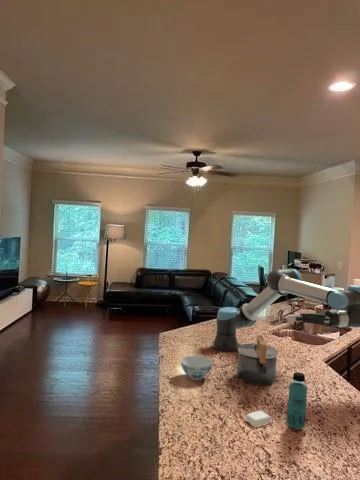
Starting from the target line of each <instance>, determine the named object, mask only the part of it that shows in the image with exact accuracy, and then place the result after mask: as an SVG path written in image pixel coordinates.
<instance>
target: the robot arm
mask: <svg viewBox="0 0 360 480" xmlns="http://www.w3.org/2000/svg"><path fill="white" fill-rule="evenodd" d="M266 284H267V287H266V288H264V289H263V290H262V291H261V292H260V293H258V295H257V296H255V297H254V298H253V299H252V300H251V301H250V302H248V303H243V304H242V305H241V306H240V307H239V308H236V307H233V306H225V307H221V308H219V309H218V310H217V315H216V334H215V338H214V340H213V342H212V348H213V349H214V350H218V351H222V352H235V351H238V346H239V342H238V339H237V329H238V330H239V329H244V328H250V327H253V326H254V325H255V324H256V323H257V321H258V320H257V319H258V318H259V314H261V313H262V312H263V311H265V309H266V308H268V307H269V306H270V305H271V304H273V303H275V301H276V300H278V299H279V298H280V297H282V296H283V297H285V296H287V295H288V294H291V295H294V296H295V295H296V296H299V297H301V298H305V299H309V300H311V301H316V302H318V303H320V304H321V303H322V304H325V305H328V306H329V307H331V308H332V309H334V310H330V309H329V310H326V311H325V312H324V313H321V312H320V313H319V312H318V313H316V312H311V313H308V312H307V313H299V314H287V321H288V322H297V323H306V324H319V325H325V326H327V327H329V328H336V327H337V328H340V329H342V328H360V285H359V284H358V285H355V284H350V285H349V284H348V286H347V290H337V289H334V288H330V287H326V286H322V285H319V284H314V283H312V282H307V281H304V280H303V278H302V274H301V273H300V272H299V270H297V269H295V268H282V269H277V268H276V269H273V270H271V271H270V272H269V273H268V274H267V276H266ZM343 309H346V310H343Z"/></svg>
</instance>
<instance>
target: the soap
mask: <svg viewBox="0 0 360 480" xmlns="http://www.w3.org/2000/svg"><path fill="white" fill-rule="evenodd" d="M244 419H245V420H246V421H248V422H249V423H250V424H252V425H254V426H259V425H263V424H266V423H270V422H272V423H273V420H272V418H271V416H270V415H269V414H267V413H266V412H264V411H262V410H258V411H253V412H249V413H247V414H245V417H244V418H243V420H244ZM249 423H248V424H249ZM250 424H249V425H250Z"/></svg>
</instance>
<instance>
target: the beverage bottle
mask: <svg viewBox="0 0 360 480" xmlns="http://www.w3.org/2000/svg"><path fill="white" fill-rule="evenodd" d="M292 380H293V381H291V382H290V383H289V385H288V387H289V389H288V400H287V407H286V408H287V411H286V424H287V425H288V426H289V428H290V427H291V428H294V429H297V430H300V429H304V428H305V426H306V418H307V417H306V416H307V414H306V413H307V398H308V397H307V395H308V386H307V385H306V384H305V383H304V382H305V381H306V377H305V374H304V373H303V372H293V375H292Z"/></svg>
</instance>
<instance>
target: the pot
mask: <svg viewBox="0 0 360 480" xmlns="http://www.w3.org/2000/svg"><path fill="white" fill-rule="evenodd" d="M277 357H278V356H277ZM277 357H275V358H271V359H266V364H265V363H260V362H259V359H258V358H252V357H247V356H244V355H242V354H240V353H239V352H238V360H237V378H238V379H239V380H240V379H241V380H240V381H243V382H244V383H247V384H251V385H257V386H266V385H267V386H269V385H272V384H274V383H275V382H276V376H277V359H278V358H277Z"/></svg>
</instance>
